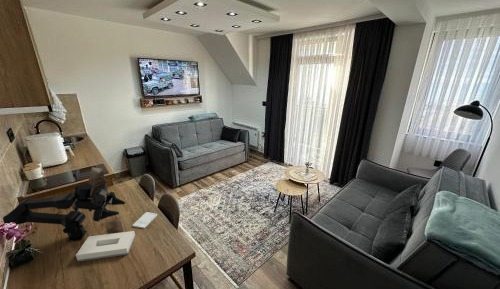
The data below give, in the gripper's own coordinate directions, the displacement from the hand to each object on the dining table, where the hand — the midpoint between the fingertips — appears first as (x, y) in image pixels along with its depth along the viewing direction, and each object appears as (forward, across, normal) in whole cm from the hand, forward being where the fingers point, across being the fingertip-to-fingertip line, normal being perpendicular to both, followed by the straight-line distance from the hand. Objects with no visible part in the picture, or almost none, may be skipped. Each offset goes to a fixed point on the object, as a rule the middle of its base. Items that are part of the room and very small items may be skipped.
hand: (122, 207), depth 114 cm
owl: (-27, +43, +24) cm, 57 cm away
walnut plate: (0, -1, +16) cm, 17 cm away
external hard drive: (+12, +8, +13) cm, 20 cm away
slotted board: (0, -12, +16) cm, 20 cm away
